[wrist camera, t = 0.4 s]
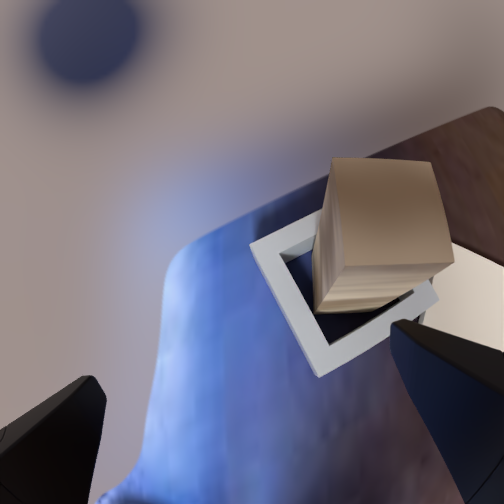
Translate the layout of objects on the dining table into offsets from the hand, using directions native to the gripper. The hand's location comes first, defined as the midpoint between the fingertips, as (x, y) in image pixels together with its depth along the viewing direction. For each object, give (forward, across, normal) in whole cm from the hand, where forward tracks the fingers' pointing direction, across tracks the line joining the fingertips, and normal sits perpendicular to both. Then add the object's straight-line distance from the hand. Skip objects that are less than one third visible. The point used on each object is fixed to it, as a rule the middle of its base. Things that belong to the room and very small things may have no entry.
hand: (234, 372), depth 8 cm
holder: (+14, -7, +5) cm, 16 cm away
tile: (+10, -17, +9) cm, 22 cm away
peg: (+14, -7, +5) cm, 16 cm away
